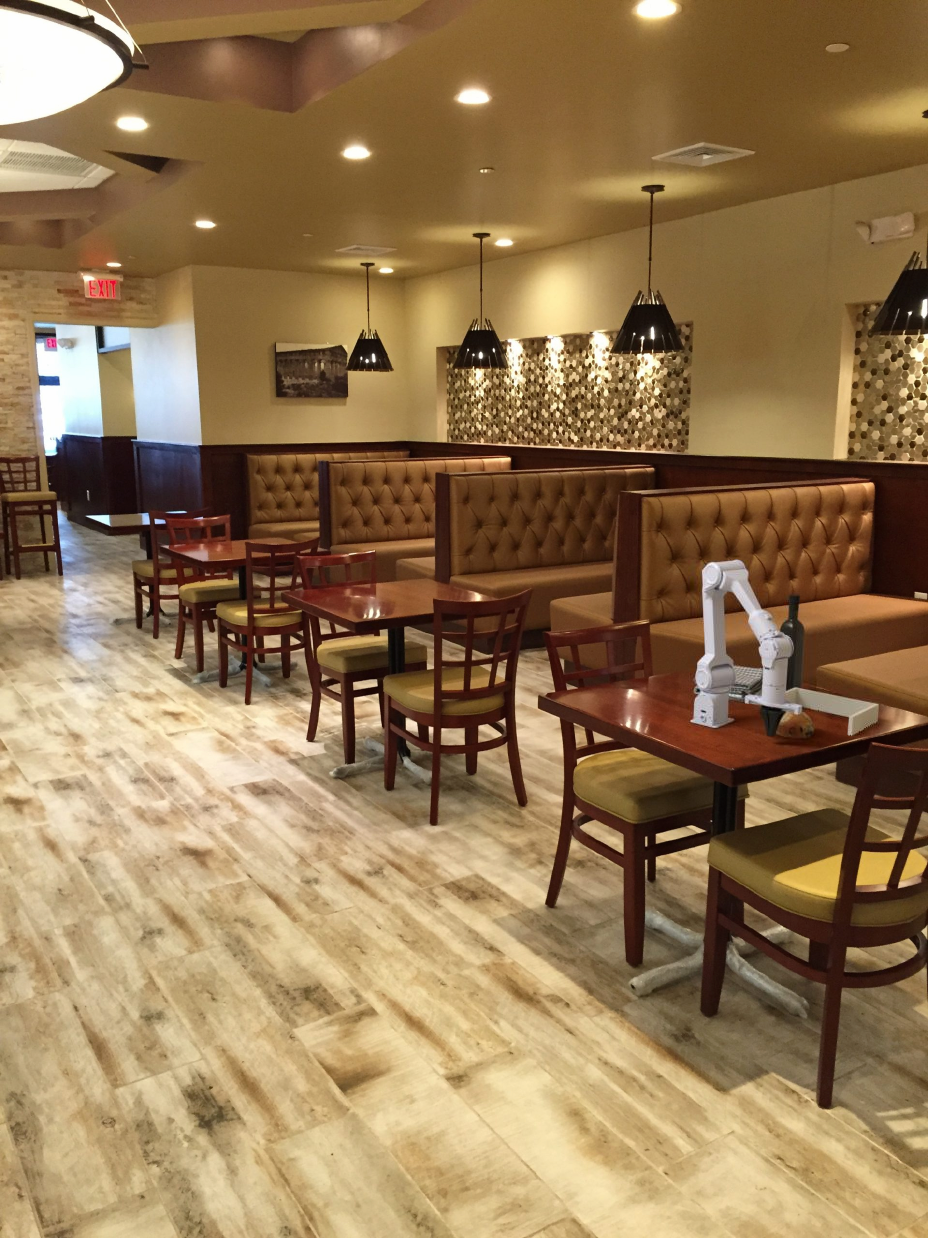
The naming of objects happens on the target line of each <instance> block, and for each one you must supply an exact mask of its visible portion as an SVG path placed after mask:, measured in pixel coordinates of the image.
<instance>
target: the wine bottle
mask: <svg viewBox="0 0 928 1238" xmlns="http://www.w3.org/2000/svg"><path fill="white" fill-rule="evenodd" d="M800 597H801V595H800V594H796V593H792V594H788V615H787V616H788V617H787V619H785V621H783V622H782V624H781V625H780V628H779V630H780V632H783V633H784V635H787V636H789V637H790V638H791V640H792V642H793V646H794V651H793V654H792V655H791V656H790V657H789V658H788V664H787V680H786V691H788V690H790V689H792V688H795V687H796V688H801V689H802V679H803V678H802V676H803V666H804V665H803V663H804V652H805V651H804V649H805V648H804V647H805V635H806V628H805V626H804V624H803V623H802V622H801V620H799V610H800V609H799V606H800V599H801V598H800Z"/></svg>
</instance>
